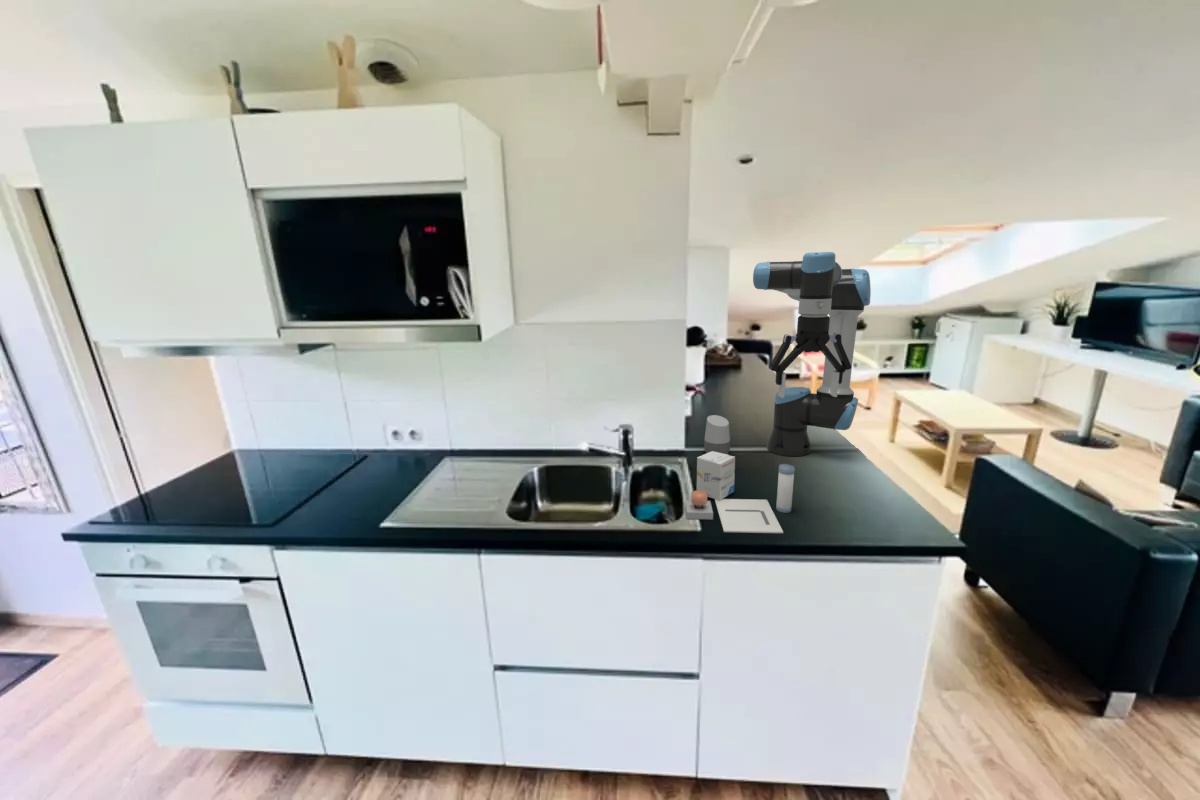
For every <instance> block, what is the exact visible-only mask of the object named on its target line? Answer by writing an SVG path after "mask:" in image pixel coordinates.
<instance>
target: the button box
mask: <svg viewBox="0 0 1200 800" xmlns="http://www.w3.org/2000/svg"><path fill="white" fill-rule="evenodd" d="M684 507H685V514H686V519H687V520H714V511H713V507H712V502H711V500H707V504H705V505H702V509H696V505H694V504H693V503H691V500H685V504H684Z"/></svg>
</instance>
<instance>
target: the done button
mask: <svg viewBox="0 0 1200 800" xmlns="http://www.w3.org/2000/svg"><path fill="white" fill-rule="evenodd" d="M690 495H691V496H690V501H691V503H693V504H694V505H696V509H702V505H705V504H707V501H708V497H707V493H706V492H704V491H700V490H697V489H696V490H694V491H693V490H692V492H691V493H690Z"/></svg>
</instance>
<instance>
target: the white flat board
mask: <svg viewBox="0 0 1200 800" xmlns="http://www.w3.org/2000/svg"><path fill="white" fill-rule="evenodd" d="M714 502H715V505H716V509H717V513H718V516H719V520H720V523H721V526H722V530H723V533H746V534H747V533H749V534H750V533H752V534H754V533H755V534H784V530H783V529H782V527H781V525H780V522H779V521H778V518H777V516H776V515H775V512H774V511H773V510H772V507H771V505H770V503H769V501H768V499H756V498H755V499H750V498H749V499H746V498H743V499H742V498H723V499H722V500H717V499H714Z"/></svg>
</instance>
